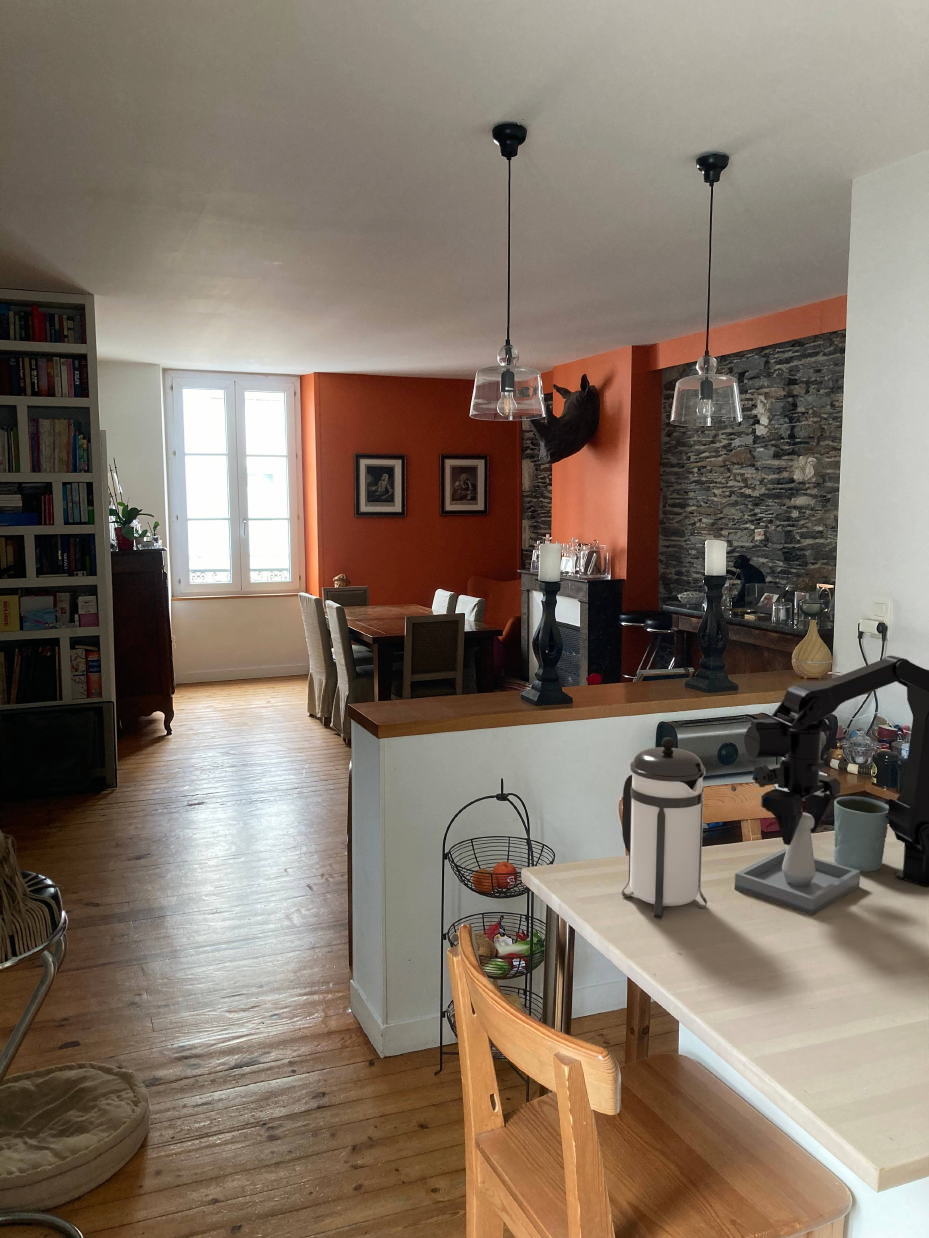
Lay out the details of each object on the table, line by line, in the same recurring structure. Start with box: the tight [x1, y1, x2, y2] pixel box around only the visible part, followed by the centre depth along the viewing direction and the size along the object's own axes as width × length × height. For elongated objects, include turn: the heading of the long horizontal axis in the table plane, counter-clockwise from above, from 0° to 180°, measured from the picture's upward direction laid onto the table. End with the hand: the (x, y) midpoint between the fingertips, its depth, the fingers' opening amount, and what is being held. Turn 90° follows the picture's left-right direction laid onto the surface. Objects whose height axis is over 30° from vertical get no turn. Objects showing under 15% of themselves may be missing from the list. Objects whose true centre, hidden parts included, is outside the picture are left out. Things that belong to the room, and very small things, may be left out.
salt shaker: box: [782, 811, 816, 887], centre depth 167 cm, size 6×6×13 cm
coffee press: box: [621, 736, 708, 919], centre depth 162 cm, size 17×16×30 cm
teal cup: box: [833, 796, 889, 873], centre depth 179 cm, size 10×10×12 cm
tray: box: [734, 848, 861, 916], centre depth 168 cm, size 18×15×3 cm
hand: (799, 838), depth 167 cm, fingers open, 9 cm apart
